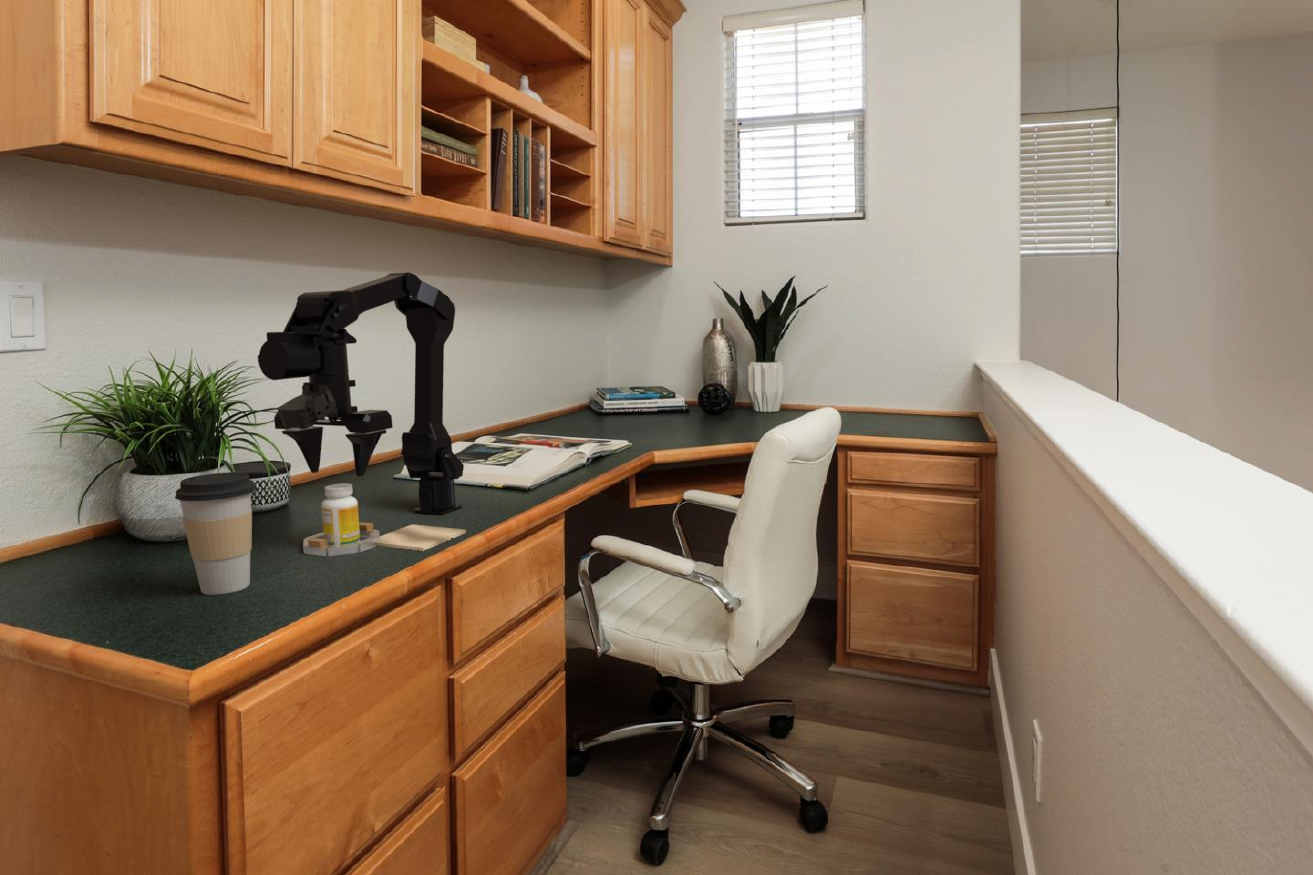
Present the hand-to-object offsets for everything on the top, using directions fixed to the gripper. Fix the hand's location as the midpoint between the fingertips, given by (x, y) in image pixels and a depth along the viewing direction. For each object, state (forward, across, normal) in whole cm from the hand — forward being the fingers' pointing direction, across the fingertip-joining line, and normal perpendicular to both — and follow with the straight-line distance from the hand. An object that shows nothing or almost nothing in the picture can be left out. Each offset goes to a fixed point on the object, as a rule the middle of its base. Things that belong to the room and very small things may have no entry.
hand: (337, 474), depth 124 cm
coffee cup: (+12, 0, -21) cm, 24 cm away
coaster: (+11, +9, +7) cm, 16 cm away
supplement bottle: (+12, 0, 0) cm, 12 cm away
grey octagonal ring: (+11, 0, 0) cm, 11 cm away
